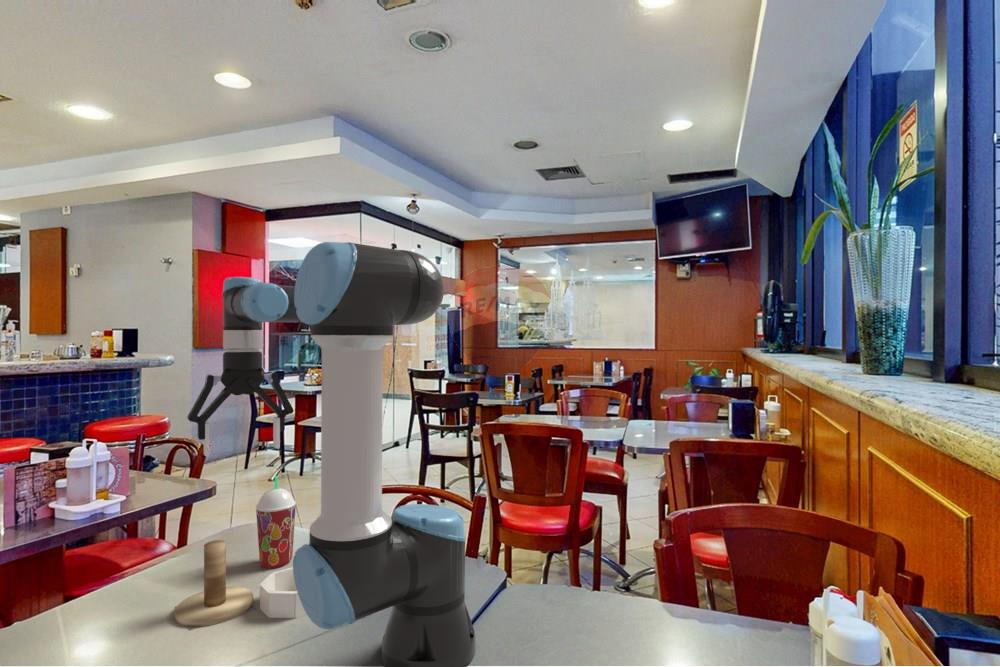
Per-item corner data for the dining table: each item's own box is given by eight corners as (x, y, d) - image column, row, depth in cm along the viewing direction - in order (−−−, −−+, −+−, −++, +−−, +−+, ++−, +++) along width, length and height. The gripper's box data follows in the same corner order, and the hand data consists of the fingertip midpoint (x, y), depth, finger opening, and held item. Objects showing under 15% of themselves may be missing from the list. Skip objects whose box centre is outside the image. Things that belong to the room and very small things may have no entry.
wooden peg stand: (263, 608, 101) (263, 544, 102) (184, 634, 93) (184, 564, 93) (240, 585, 111) (240, 526, 111) (167, 606, 102) (167, 542, 102)
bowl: (337, 606, 104) (337, 579, 104) (275, 628, 96) (275, 599, 96) (312, 585, 112) (312, 561, 112) (253, 604, 104) (253, 578, 104)
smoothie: (302, 558, 126) (302, 472, 126) (284, 574, 118) (284, 481, 118) (268, 557, 127) (268, 471, 127) (248, 572, 119) (248, 480, 119)
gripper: (298, 349, 126) (298, 441, 126) (172, 351, 111) (172, 455, 111) (307, 350, 120) (307, 446, 119) (176, 352, 105) (176, 462, 105)
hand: (242, 451), depth 115 cm, fingers open, 13 cm apart
